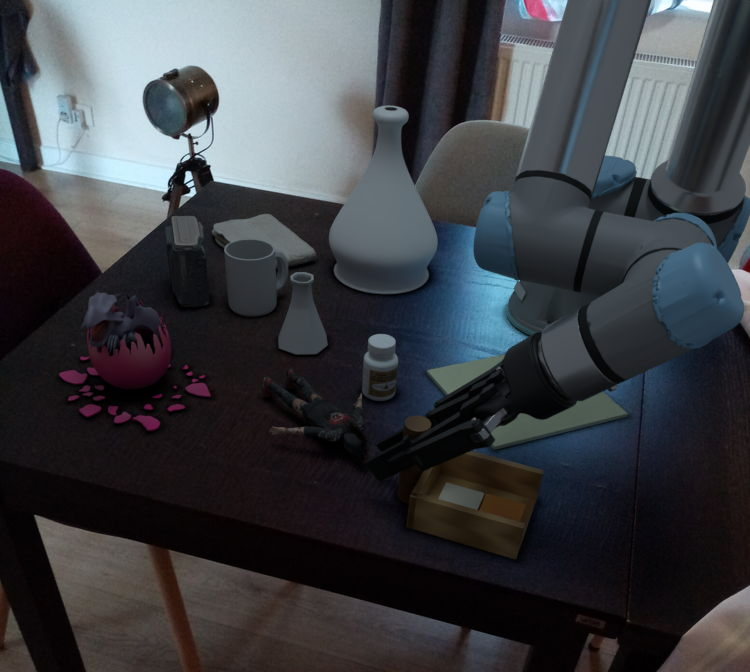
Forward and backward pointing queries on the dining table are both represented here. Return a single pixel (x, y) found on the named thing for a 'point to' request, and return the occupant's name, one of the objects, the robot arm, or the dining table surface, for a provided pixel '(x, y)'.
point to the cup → (254, 276)
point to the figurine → (320, 415)
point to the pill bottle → (380, 368)
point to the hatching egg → (126, 353)
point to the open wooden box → (477, 476)
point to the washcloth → (265, 237)
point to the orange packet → (503, 507)
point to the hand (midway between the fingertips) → (379, 461)
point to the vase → (384, 220)
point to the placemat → (525, 425)
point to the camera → (187, 261)
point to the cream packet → (462, 496)
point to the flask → (302, 320)
